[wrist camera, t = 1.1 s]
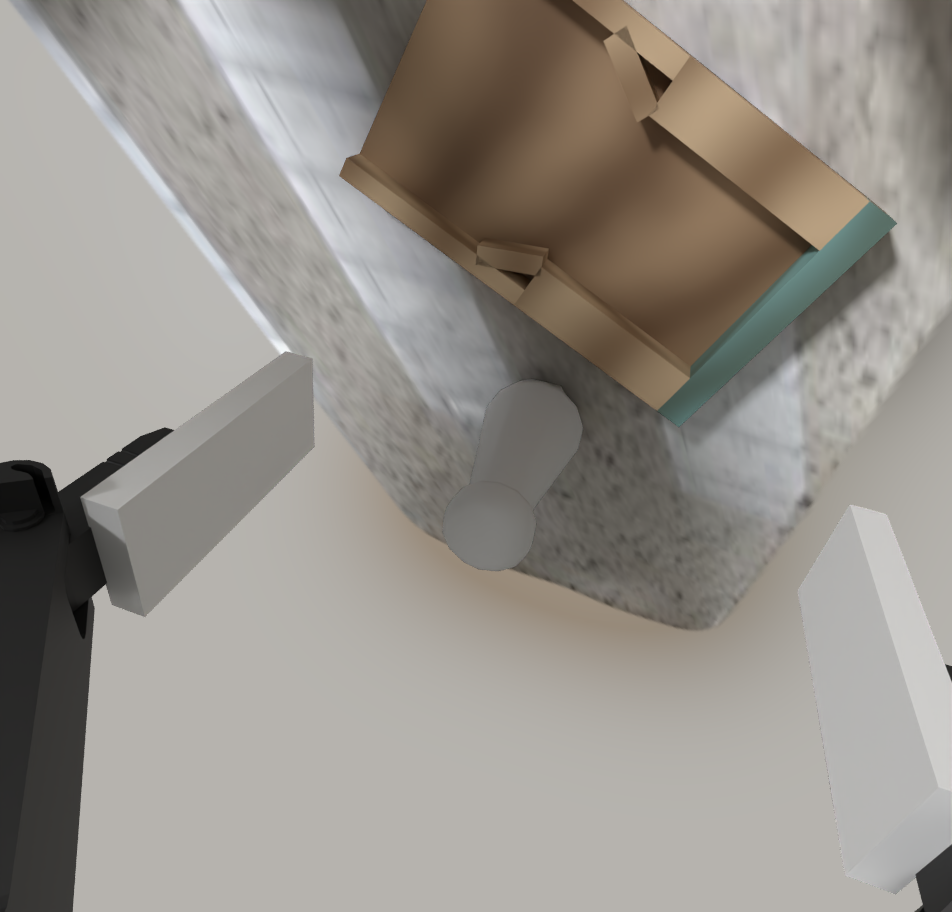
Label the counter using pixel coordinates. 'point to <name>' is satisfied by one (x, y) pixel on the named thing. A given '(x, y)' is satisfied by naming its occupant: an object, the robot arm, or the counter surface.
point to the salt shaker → (512, 473)
